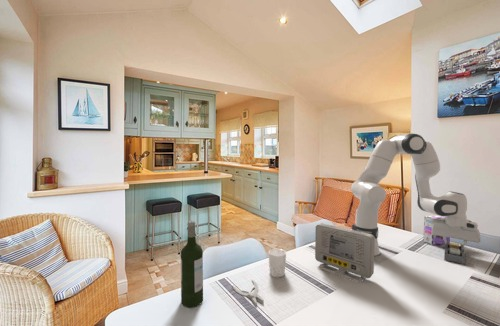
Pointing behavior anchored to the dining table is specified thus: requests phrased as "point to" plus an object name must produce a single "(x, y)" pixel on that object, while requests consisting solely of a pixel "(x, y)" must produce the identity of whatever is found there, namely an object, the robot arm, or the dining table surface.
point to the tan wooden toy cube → (454, 245)
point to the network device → (345, 251)
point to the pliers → (253, 295)
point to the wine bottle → (191, 270)
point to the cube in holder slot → (455, 251)
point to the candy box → (428, 234)
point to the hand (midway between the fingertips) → (454, 246)
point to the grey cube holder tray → (455, 258)
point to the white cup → (277, 262)
